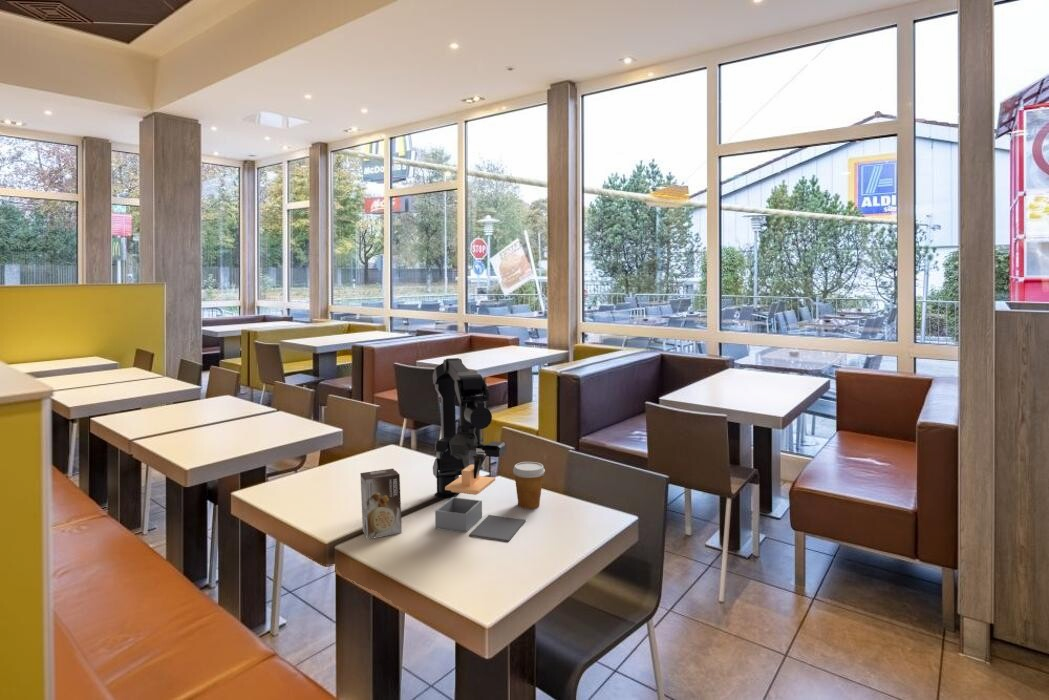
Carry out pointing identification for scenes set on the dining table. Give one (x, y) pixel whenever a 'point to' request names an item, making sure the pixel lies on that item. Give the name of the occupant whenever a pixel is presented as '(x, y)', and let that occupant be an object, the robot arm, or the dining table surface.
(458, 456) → the robot arm
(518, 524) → the mat
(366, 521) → the coffee box
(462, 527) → the tub
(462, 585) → the dining table surface
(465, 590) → the dining table surface
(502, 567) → the dining table surface
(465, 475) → the lid
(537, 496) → the disposable coffee cup
